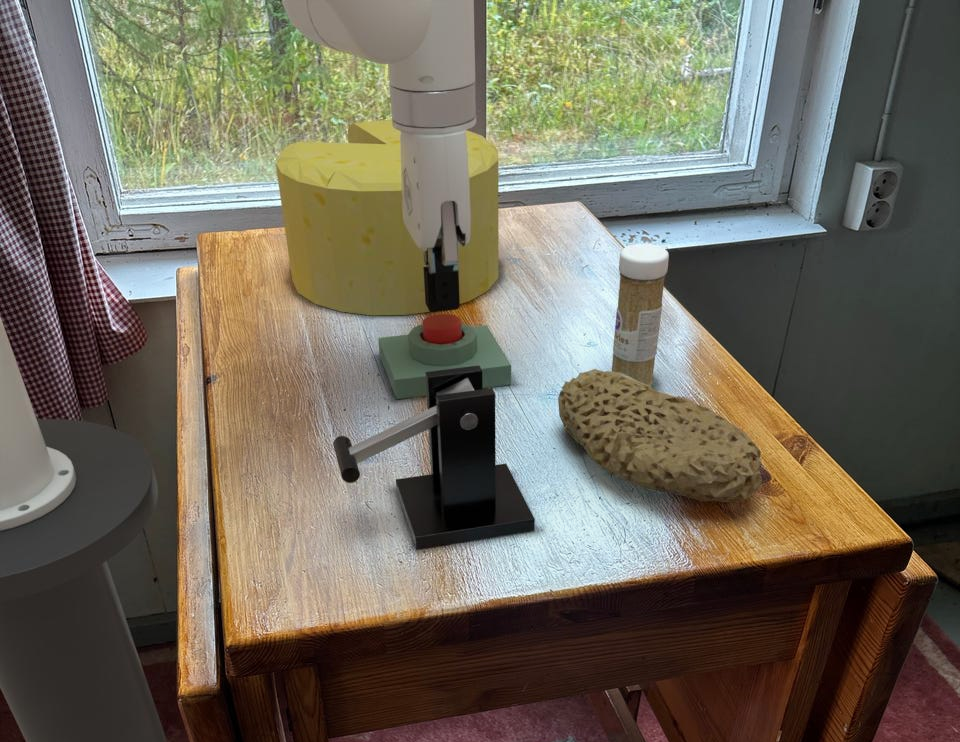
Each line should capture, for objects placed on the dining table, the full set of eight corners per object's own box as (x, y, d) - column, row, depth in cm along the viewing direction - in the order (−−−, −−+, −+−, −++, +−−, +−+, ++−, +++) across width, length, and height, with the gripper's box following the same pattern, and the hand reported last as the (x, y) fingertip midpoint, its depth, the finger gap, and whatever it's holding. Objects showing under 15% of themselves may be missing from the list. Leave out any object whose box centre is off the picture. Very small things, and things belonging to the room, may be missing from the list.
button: (427, 348, 98) (426, 331, 97) (419, 332, 101) (418, 316, 100) (465, 343, 99) (465, 327, 98) (457, 327, 102) (456, 311, 101)
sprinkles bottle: (601, 378, 100) (611, 246, 92) (639, 369, 102) (653, 239, 93) (623, 397, 97) (636, 262, 88) (662, 388, 99) (679, 254, 90)
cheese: (290, 244, 131) (273, 121, 121) (481, 231, 134) (480, 110, 124) (294, 323, 112) (273, 185, 102) (516, 306, 114) (518, 170, 104)
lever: (349, 490, 76) (335, 467, 74) (340, 458, 79) (327, 435, 78) (489, 423, 75) (478, 398, 73) (474, 393, 79) (463, 369, 77)
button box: (396, 399, 98) (393, 362, 95) (379, 357, 105) (376, 321, 102) (511, 384, 100) (511, 347, 97) (487, 344, 107) (486, 308, 104)
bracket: (416, 549, 79) (406, 418, 71) (396, 490, 85) (385, 365, 77) (534, 530, 80) (538, 401, 72) (506, 474, 87) (506, 350, 79)
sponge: (541, 445, 93) (633, 518, 76) (551, 362, 89) (651, 420, 73) (662, 446, 97) (774, 515, 81) (677, 366, 94) (798, 422, 77)
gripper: (377, 89, 90) (393, 284, 103) (407, 131, 80) (420, 343, 92) (455, 83, 92) (461, 276, 104) (495, 123, 81) (497, 333, 93)
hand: (442, 307), depth 98 cm, fingers closed
